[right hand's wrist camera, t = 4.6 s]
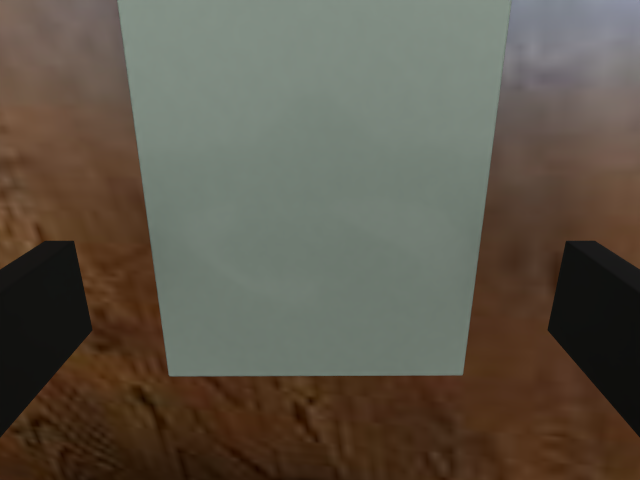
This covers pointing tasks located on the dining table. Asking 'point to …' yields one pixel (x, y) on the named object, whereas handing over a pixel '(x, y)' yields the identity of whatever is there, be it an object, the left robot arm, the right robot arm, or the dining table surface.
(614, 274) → the right robot arm
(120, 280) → the dining table surface
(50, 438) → the dining table surface
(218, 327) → the cabinet
